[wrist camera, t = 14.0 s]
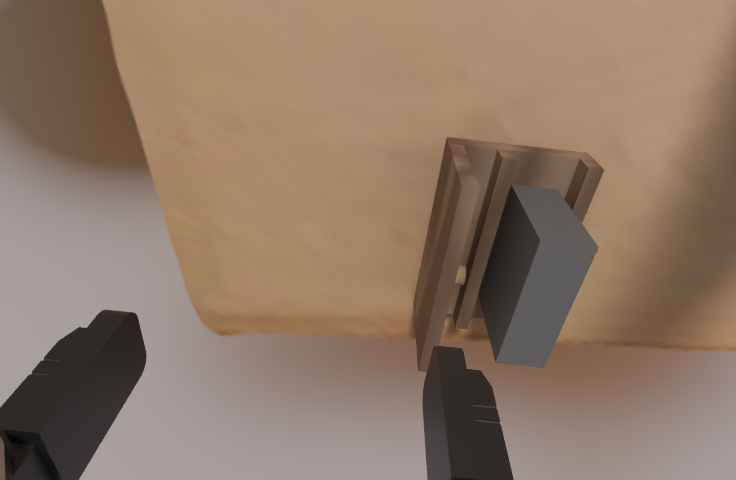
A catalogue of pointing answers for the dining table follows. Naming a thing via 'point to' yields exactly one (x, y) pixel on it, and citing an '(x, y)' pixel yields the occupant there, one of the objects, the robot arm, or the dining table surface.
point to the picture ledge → (482, 223)
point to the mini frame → (533, 274)
